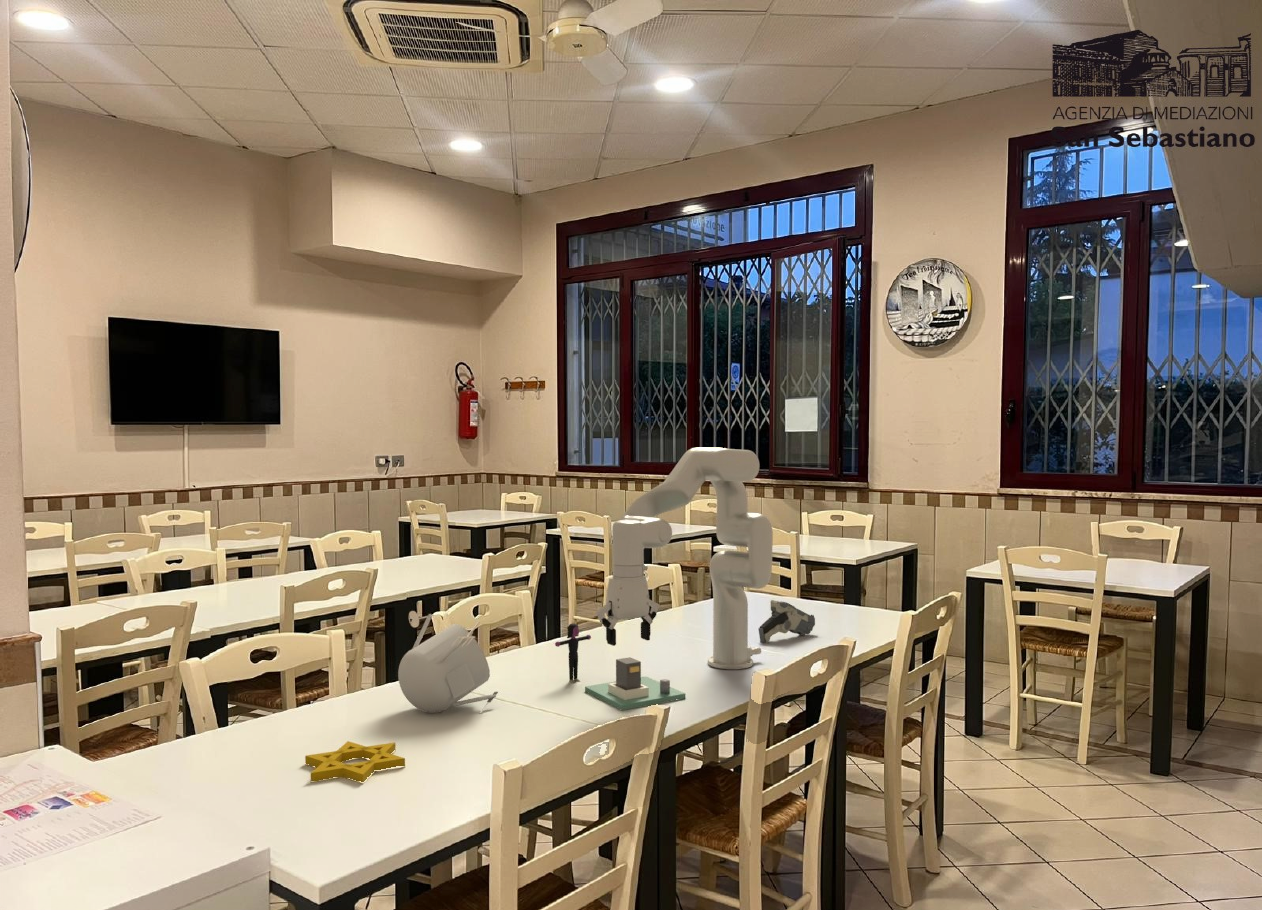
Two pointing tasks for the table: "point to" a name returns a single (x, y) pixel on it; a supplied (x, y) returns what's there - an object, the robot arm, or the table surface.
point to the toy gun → (786, 621)
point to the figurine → (573, 649)
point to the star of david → (333, 767)
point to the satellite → (443, 668)
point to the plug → (628, 673)
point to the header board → (636, 693)
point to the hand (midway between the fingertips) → (628, 641)
